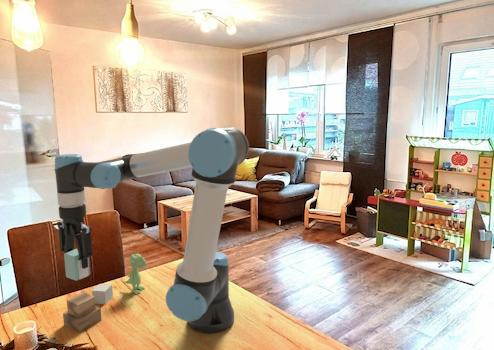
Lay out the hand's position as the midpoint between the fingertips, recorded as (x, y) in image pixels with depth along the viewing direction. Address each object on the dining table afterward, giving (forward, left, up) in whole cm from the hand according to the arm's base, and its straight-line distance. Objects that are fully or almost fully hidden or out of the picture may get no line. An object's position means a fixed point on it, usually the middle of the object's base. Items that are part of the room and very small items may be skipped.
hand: (78, 275), depth 113 cm
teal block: (0, 0, 0) cm, 0 cm away
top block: (0, 0, -13) cm, 13 cm away
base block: (0, 0, -17) cm, 17 cm away
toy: (+1, -24, -17) cm, 29 cm away
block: (+6, -13, -17) cm, 22 cm away
